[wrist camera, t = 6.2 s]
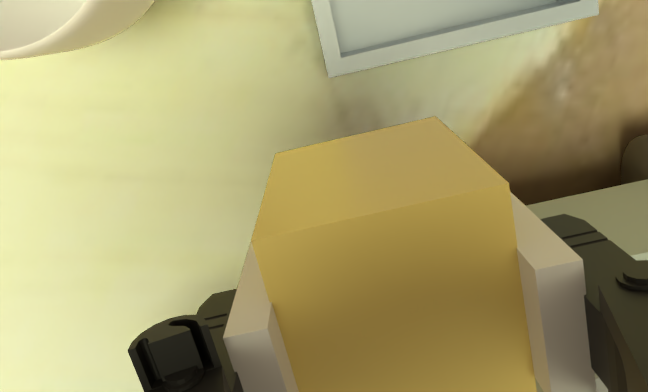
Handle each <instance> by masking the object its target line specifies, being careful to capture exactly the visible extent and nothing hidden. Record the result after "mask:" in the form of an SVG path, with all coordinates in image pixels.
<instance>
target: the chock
mask: <svg viewBox="0 0 648 392" xmlns="http://www.w3.org/2000/svg"><path fill="white" fill-rule="evenodd" d="M251 242H252V245H253V249H254V252H255V255H256V259H257V262H258V265H259V269H260V272H261V275H262V279H263V282H264V285H265V289H266V292H267V295H268V299H269V302H272V305H273V309H274V312H275V315H276V319H277V322H278V325H279V328H280V332H281V335H282V338H283V341H284V345H285V348H286V351H287V355H288V358H289V361H290V364H291V368H292V371H293V374H294V377H295V381H296V384H297V387H298V390H299V392H537V389H536V381H535V375H534V368H533V361H532V354H531V347H530V340H529V333H528V326H527V319H526V312H525V305H524V298H523V291H522V284H521V276H520V269H519V262H518V255H517V248H518V247H517V239H516V232H515V224H514V217H513V209H512V202H511V194H510V187H509V183H508V182H507V181H506V180H505V179H504V178H503V177H502V176H501V175H499V174H498V173H497V172H496V171H495V170H494V169H493V168H492V167H491V166H490V165H488V164H487V163H486V162H485V161H484V160H483V159H482V158H481V157H480V156H479V155H477V154H476V153H475V152H474V151H473V150H472V149H471V148H470V147H469V146H468V145H466V144H465V143H464V142H463V141H462V140H461V139H460V138H459V137H458V136H457V135H455V134H454V133H453V132H452V131H451V130H450V129H449V128H448V127H447V126H446V125H445V124H443V123H442V122H441V121H440V120H439V119H438V118H437V117H436V116H434V117H430V118H425V119H421V120H417V121H413V122H408V123H404V124H400V125H395V126H391V127H387V128H382V129H378V130H374V131H370V132H365V133H361V134H357V135H352V136H348V137H344V138H339V139H335V140H331V141H326V142H322V143H318V144H314V145H309V146H305V147H301V148H296V149H292V150H288V151H283V152H279V153H275V157H274V160H273V164H272V168H271V171H270V175H269V178H268V182H267V185H266V189H265V193H264V196H263V200H262V203H261V207H260V211H259V214H258V218H257V221H256V225H255V229H254V232H253V236H252V239H251Z"/></svg>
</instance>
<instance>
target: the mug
mask: <svg viewBox="0 0 648 392" xmlns="http://www.w3.org/2000/svg"><path fill="white" fill-rule="evenodd" d="M154 1H155V0H0V60H11V59H21V58H29V57H36V56H42V55H48V54H54V53H60V52H66V51H72V50H77V49H81V48H85V47H89V46H92V45H95V44H98V43H101V42H103V41H106V40H108V39H110V38H112V37H114V36H116V35H118V34H120V33H121V32H123V31H125V30H126V29H127V28H129V27H130V26H132V25H133V24H134V23H135V22H136V21H138V20H139V19H140V18H141V17H142V16H143V15H144V14H145V13H146V11H147V10H148V9H149V8H150V7H151V5H152V4H153V3H154Z"/></svg>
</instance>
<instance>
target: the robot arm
mask: <svg viewBox="0 0 648 392" xmlns="http://www.w3.org/2000/svg"><path fill="white" fill-rule="evenodd" d="M510 194H511V202H512V209H513V217H514V224H515V232H516V239H517V247H518V248H517V255H518V262H519V269H520V276H521V284H522V291H523V298H524V305H525V312H526V319H527V326H528V333H529V340H530V347H531V354H532V361H533V368H534V375H535V378H536V380H537V382H538V383H539V385H540V387H541V388H542V390H543V392H596V382H595V373H596V374H597V376H598V377H599V378H600V380H601V381H602V382H603V383H604V385H605V386H606V387H607V389H608V392H648V260H635V259H634V258H632V257H631V256H630V255H629V254H627V253H626V252H625V251H624V250H622V249H621V248H620V247H618V246H617V245H616V244H615V243H613V242H612V241H611V240H608V239H607V237H606V236H604V235H603V234H602V233H601V232H597V229H595V228H594V227H593V226H592V225H590V224H589V223H588V222H586V221H585V220H583V219H580V218H577V217H573V216H570V215H567V214H561V215H556V216H552V217H547V218H543V219H539V218H538V217H537V216H536V215H535V214H534V213H533V212H532V211H531V210H529V209H528V208H527V207H526V206H525V205H524V204H523V203H522V202H521V201H520V200H519V199H518V198H517V197H516V196H514V195H513V194H512V193H511V192H510ZM254 229H255V228H254ZM252 236H253V235H252ZM128 353H129V355H130V358H131V360H132V363H133V365H134V367H135V370H136V372H137V375H138V377H139V380H140V382H141V385H142V387H143V390H144V392H299V390H298V387H297V384H296V381H295V377H294V374H293V371H292V368H291V364H290V361H289V358H288V355H287V351H286V348H285V345H284V341H283V338H282V335H281V332H280V328H279V325H278V322H277V319H276V315H275V312H274V309H273V305H272V302H269V299H268V295H267V292H266V289H265V285H264V282H263V279H262V275H261V272H260V269H259V265H258V262H257V259H256V255H255V252H254V249H253V245H252V242H250V246H249V249H248V252H247V256H246V259H245V263H244V266H243V270H242V273H241V277H240V280H239V284H238V287H237V289H234V290H229V291H225V292H220V293H216V294H212V295H211V296H210V297H209V298H208V299H207V300H206V301H205V302H204V303H203V304H202V305H201V306H200V307H199V310H198V312H197V315H183V316H178V317H174V318H170V319H167V320H165V321H162V322H160V323H158V324H155V325H154V326H152V327H150V328H149V329H147V330H145V331H144V332H142V333H141V334H140V335H139V336H138V337H137V338H136V339H135V340H134V341H133V342H132V343H131V345H130V347H129V349H128Z"/></svg>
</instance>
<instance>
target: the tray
mask: <svg viewBox="0 0 648 392" xmlns="http://www.w3.org/2000/svg"><path fill="white" fill-rule="evenodd" d="M311 2H312V6H313V11H314V15H315V20H316V24H317V29H318V33H319V38H320V42H321V46H322V51H323V55H324V60H325V64H326V69H327V73H328V78H332V77H336V76H340V75H345V74H349V73H353V72H357V71H362V70H366V69H370V68H374V67H379V66H383V65H387V64H391V63H396V62H400V61H404V60H408V59H413V58H417V57H421V56H425V55H430V54H434V53H438V52H442V51H447V50H451V49H455V48H459V47H464V46H468V45H472V44H476V43H481V42H485V41H489V40H493V39H498V38H502V37H506V36H510V35H514V34H519V33H523V32H527V31H531V30H536V29H540V28H544V27H548V26H553V25H557V24H561V23H565V22H570V21H574V20H578V19H582V18H587V17H591V16H595V15H599V8H598V0H311Z"/></svg>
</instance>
